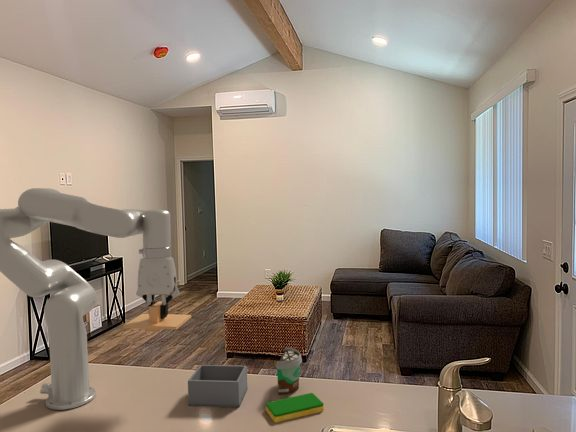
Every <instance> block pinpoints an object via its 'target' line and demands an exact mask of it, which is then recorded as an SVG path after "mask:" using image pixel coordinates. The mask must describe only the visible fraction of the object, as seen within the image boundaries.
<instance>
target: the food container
mask: <svg viewBox="0 0 576 432" xmlns="http://www.w3.org/2000/svg"><path fill="white" fill-rule="evenodd" d="M302 362H303V359H302V355H301V352H300V351H299V350H297V349H295V348H292V347H284V352H283V353H282V355H281V356H280V359H279V361H276V372H277V374H276V375H277V390H278V391H277V392H278V393H277V395H278V396H279V395H280V396H283V395H284V396H285V395H291V394H293V393H295V392H297V391H298V390H299V387H300V369H301V368H300V367H301V364H302Z"/></svg>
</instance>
